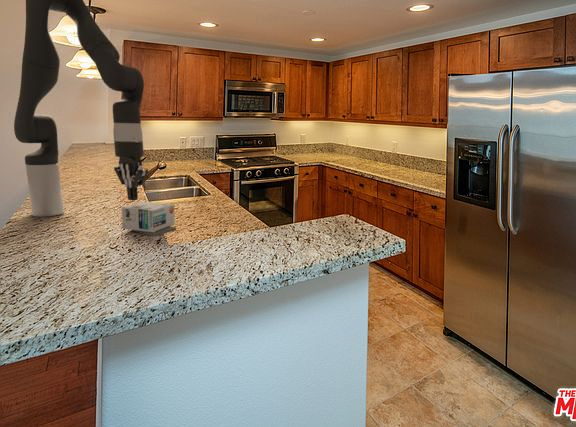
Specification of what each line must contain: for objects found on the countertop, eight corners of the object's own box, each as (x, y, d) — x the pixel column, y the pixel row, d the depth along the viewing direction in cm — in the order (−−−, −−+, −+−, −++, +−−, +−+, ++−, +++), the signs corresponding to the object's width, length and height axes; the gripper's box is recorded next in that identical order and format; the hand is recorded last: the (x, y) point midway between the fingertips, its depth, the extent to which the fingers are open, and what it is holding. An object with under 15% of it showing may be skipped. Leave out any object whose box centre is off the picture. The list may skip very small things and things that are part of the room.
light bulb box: (121, 229, 106) (153, 233, 103) (120, 206, 105) (152, 210, 101) (146, 221, 116) (175, 225, 113) (145, 200, 115) (175, 203, 111)
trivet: (131, 230, 108) (131, 228, 108) (154, 225, 115) (154, 222, 114) (153, 236, 103) (153, 233, 103) (176, 230, 109) (176, 227, 109)
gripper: (102, 139, 104) (107, 199, 108) (131, 140, 97) (135, 204, 101) (126, 139, 110) (130, 195, 114) (154, 140, 103) (158, 200, 107)
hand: (132, 199), depth 107 cm, fingers closed
